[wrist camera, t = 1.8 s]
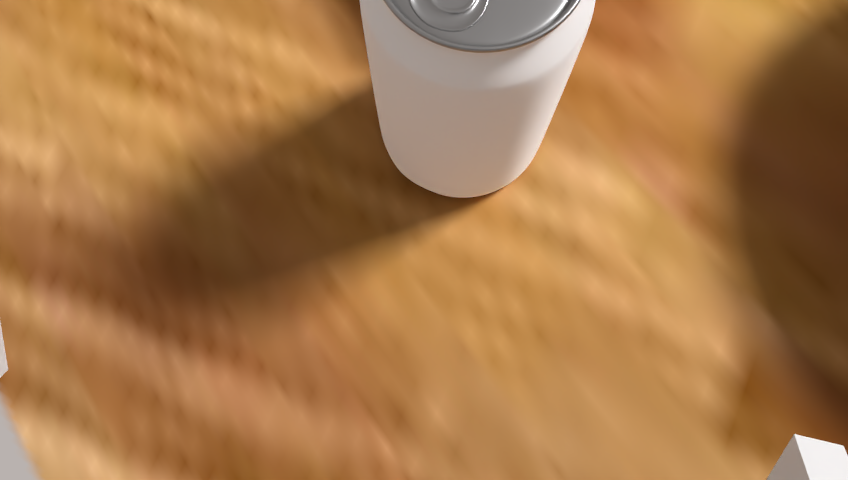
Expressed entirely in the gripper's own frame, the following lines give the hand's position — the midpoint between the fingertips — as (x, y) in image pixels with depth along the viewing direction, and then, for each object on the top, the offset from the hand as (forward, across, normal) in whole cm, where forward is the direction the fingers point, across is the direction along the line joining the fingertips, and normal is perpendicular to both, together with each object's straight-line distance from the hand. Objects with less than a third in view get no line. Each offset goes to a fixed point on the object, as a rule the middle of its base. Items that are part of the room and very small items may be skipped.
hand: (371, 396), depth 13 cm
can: (+20, 0, -4) cm, 20 cm away
